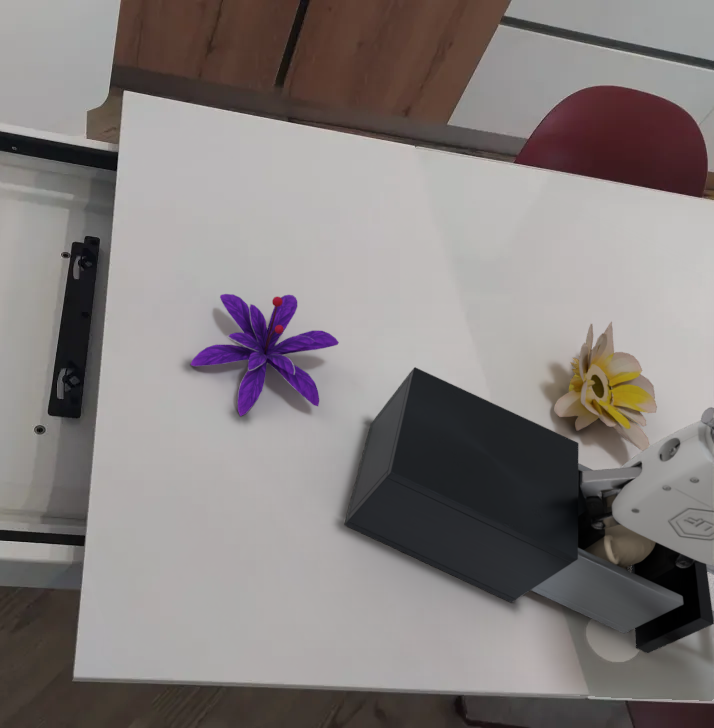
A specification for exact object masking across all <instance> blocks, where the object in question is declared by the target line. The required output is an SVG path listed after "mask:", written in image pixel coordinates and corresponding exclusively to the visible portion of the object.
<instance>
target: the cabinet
mask: <svg viewBox="0 0 714 728" xmlns="http://www.w3.org/2000/svg"><path fill="white" fill-rule="evenodd" d="M578 463H579V442H578V441H576V440H574V439H571V438H569V437H568V436H564V435H562V434H560V433H558V432H556V431H554V430H552V429H550V428H547V427H545V426H544V425H541V424H539V423H536V422H535V421H533V420H531V419H528V418H525V417H524V416H522V415H519V414H517V413H515V412H512V411H511V410H508V409H506V408H504V407H502V406H500V405H498V404H495V403H493V402H492V401H489V400H487V399H485V398H482V397H481V396H478V395H476V394H474V393H472V392H470V391H467V390H465V389H463V388H461V387H458V386H457V385H455V384H452V383H451V382H449V381H446V380H443V379H442V378H440V377H437V376H435V375H433V374H431V373H428V372H426V371H424V370H422V369H420V368H419V367H416V366H415V367H413V368H412V370H411V371H410V372H409V373H408V374H407V376H406V377H405V379H404V380H403V381H402V382H401V384H400V385H399V386H398V387H397V389H396V390H395V392H394V393H393V394H392V395H391V397H390V398H389V399H388V401H387V402H386V403H385V404H384V406H383V407H382V408H381V410H380V411H379V412H378V414H377V415H376V416H375V417H374V419H373V420H372V421H371V422H370V426H369V429H368V432H367V437H366V440H365V445H364V448H363V453H362V457H361V459H360V464H359V467H358V471H357V475H356V478H355V483H354V487H353V490H352V494H351V498H350V502H349V506H348V509H347V514H346V517H345V522H344V526H345V527H348V528H350V529H352V530H353V531H356V532H358V533H360V534H363V535H365V536H367V537H369V538H371V539H373V540H376V541H378V542H380V543H382V544H384V545H386V546H389V547H391V548H393V549H395V550H397V551H399V552H401V553H403V554H405V555H408V556H410V557H412V558H414V559H417V560H419V561H420V562H423V563H425V564H427V565H430V566H431V567H433V568H436V569H438V570H440V571H443V572H444V573H447V574H448V575H451V576H452V577H455V578H458V579H460V580H462V581H464V582H465V583H468V584H470V585H472V586H474V587H477V588H479V589H480V590H483V591H485V592H488V593H490V594H492V595H494V596H495V597H498V598H500V599H503V600H505V601H507V602H509V603H513V602H515V601H516V600H518V599H520V598H521V597H522V596H524V595H525V594H527V593H529V592H531V591H532V590H531V589H533V588H535V587H536V586H538V585H539V584H541V583H542V582H544V581H545V580H547V579H548V578H550V577H552V576H553V575H555V574H556V573H558V572H559V571H561V570H562V569H564V568H565V567H567V566H568V565H570V564H571V563H573V562H575V561H576V560H577V559H578Z"/></svg>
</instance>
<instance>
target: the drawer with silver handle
mask: <svg viewBox="0 0 714 728" xmlns="http://www.w3.org/2000/svg"><path fill="white" fill-rule="evenodd" d="M590 470H593V469H592V468H590V467H588V466H585V465H583V464H581V463H579V462H578V516H579V515H581V514H582V513H583V512H585V511H586V510H587V509H588V508H587V505H586V499H585V497H584V495H583V493H582V490H581V487H580V473H581V472H582V471H590ZM614 490H615V489H614ZM609 491H612V490H602V492H603V493H606V492H609ZM607 510H608V512H611V511H612V506H610V507H607ZM620 525H621V524H620ZM708 573H709V574H712V575H714V565H709V564H705V563H693V564H692V565H691V566H690V567H689V568H679V567H677V566H674V568H672V569H670V570H669V571H667V572H665V573H663V574H662V575H660V576H658V577H656V578H655V579H653V580H651V581H649V580H647V579H645V578H643V577H640V576H638V575H636V574H635V568H634V565H632V566H631V571H629V570H628V569H627V570H625V569H623V568H621V567H619V566H617V565H615V564H612V563H610V562H608V561H606V560H604V559H602V558H599V557H597V556H595V555H593V554H591V553H589V552H587V551H584V550H582V549H580V548H578V559H577V560H576V561H575V562H573V563H571V564H570V565H568V566H567V567H565V568H564V569H562V570H561V571H559V572H558V573H556V574H555V575H553V576H552V577H550V578H548V579H547V580H545V581H544V582H542V583H541V584H539V585H538V586H536V587H535V588H533V589H531V590H530V591H532V592H534V593H536V594H538V595H540V596H543V597H544V598H547V599H549V600H551V601H553V602H555V603H558V604H560V605H562V606H564V607H566V608H568V609H570V610H572V611H575V612H577V613H579V614H582V615H583V616H586V617H588V618H590V619H592V620H594V621H596V622H598V623H600V624H602V625H604V626H607V627H609V628H611V629H614V630H616V631H618V632H620V633H622V634H626V633H629V632H630V631H632V630H634V640H635V649H637V650H639V651H641V652H643V653H645V654H650V653H653V652H655V651H657V650H659V649H661V648H664V647H666V646H669V645H670V644H672V643H674V642H675V643H676V642H677V641H679V640H682V639H683V638H685V637H688V636H691V635H693V634H695V633H697V632H699V631H702V630H704V629H706V628H709V627H711V626H713V625H714V610H713V605H712V598H711V590H710V583H709V575H708Z"/></svg>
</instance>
